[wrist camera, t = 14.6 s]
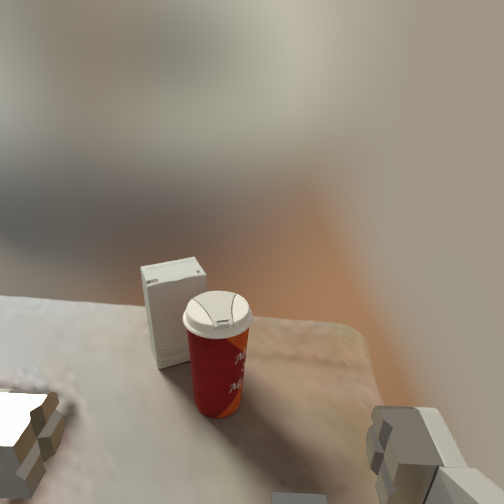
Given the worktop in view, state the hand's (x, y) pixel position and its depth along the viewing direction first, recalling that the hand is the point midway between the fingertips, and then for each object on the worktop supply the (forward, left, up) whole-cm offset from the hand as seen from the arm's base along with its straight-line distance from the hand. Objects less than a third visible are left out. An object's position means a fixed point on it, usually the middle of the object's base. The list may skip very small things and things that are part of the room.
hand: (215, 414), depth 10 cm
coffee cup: (-3, +30, -32) cm, 44 cm away
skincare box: (-10, +39, -32) cm, 52 cm away
